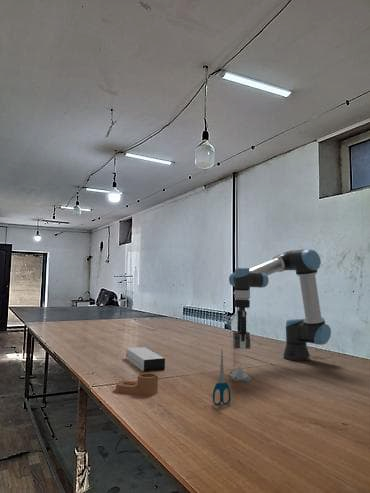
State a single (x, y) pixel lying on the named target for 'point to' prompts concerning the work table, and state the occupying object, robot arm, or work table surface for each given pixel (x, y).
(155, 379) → the bracket
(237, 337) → the knob
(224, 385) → the scissors
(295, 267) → the robot arm
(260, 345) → the work table surface
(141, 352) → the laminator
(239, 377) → the mounting plate
